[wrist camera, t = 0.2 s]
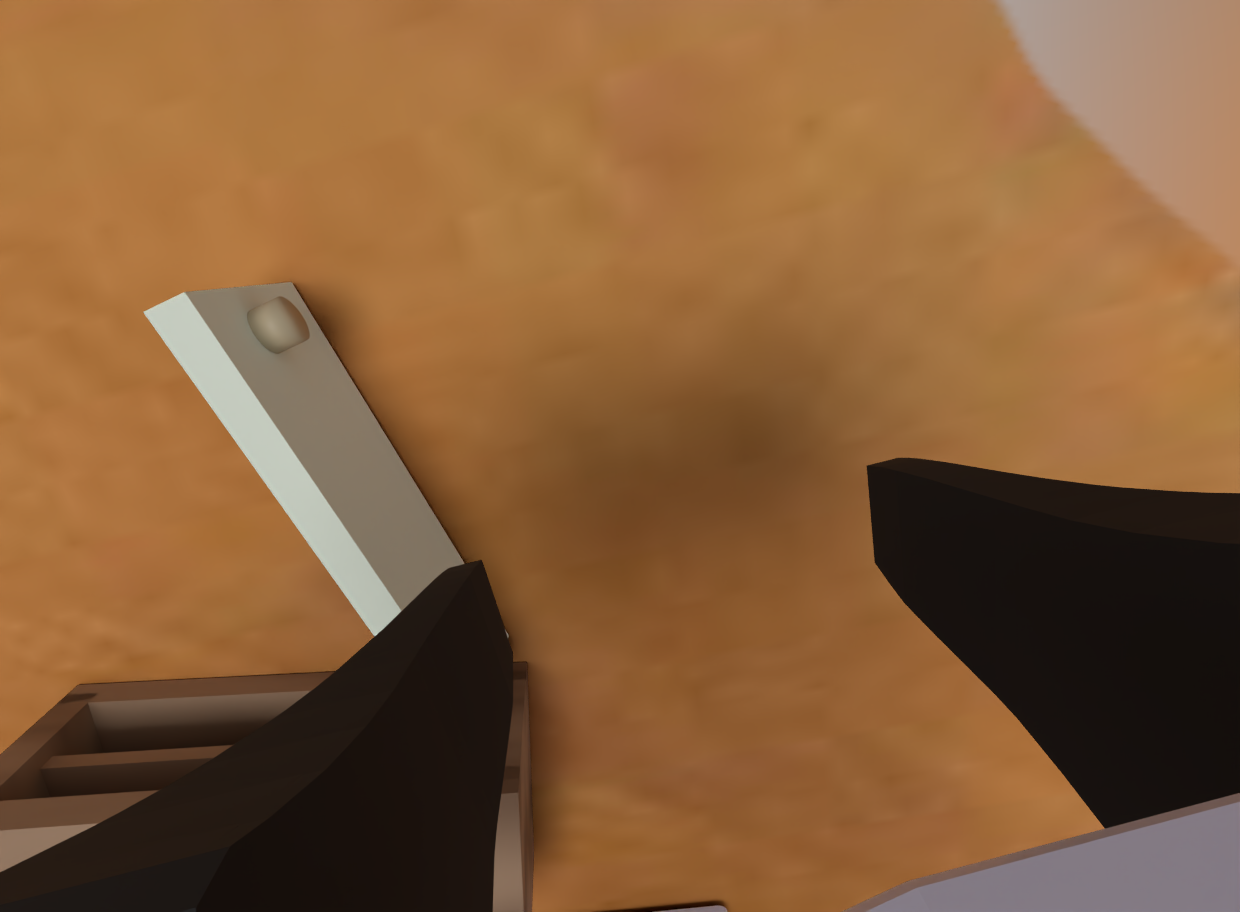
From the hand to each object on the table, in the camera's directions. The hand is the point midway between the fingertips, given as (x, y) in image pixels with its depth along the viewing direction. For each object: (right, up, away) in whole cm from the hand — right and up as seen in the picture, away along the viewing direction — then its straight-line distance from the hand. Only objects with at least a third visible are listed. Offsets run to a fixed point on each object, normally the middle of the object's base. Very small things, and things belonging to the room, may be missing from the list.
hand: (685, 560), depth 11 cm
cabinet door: (-8, +1, +9) cm, 13 cm away
